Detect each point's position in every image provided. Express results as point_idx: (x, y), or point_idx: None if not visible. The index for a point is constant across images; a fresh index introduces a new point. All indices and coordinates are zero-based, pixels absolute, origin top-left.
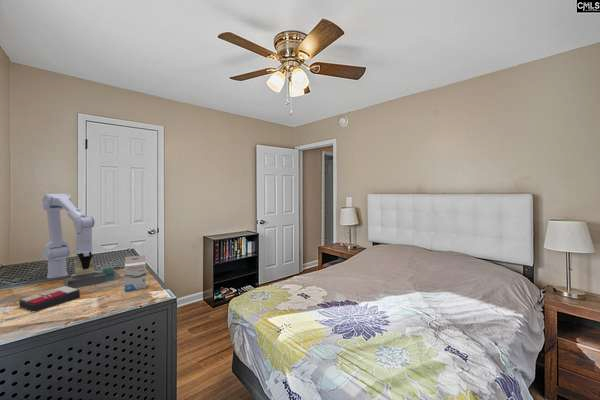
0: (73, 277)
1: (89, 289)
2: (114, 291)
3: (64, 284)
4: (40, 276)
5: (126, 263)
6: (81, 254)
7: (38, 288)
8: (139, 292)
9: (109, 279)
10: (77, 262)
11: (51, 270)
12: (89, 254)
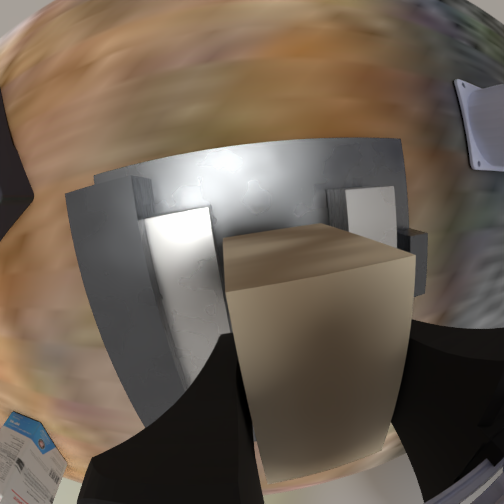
0: (339, 201)
1: (52, 314)
2: (14, 390)
3: (254, 144)
4: (489, 75)
5: (4, 499)
6: (481, 422)
7: (272, 19)
8: None
9: None
10: (240, 331)
11: (494, 92)
12: (425, 478)
